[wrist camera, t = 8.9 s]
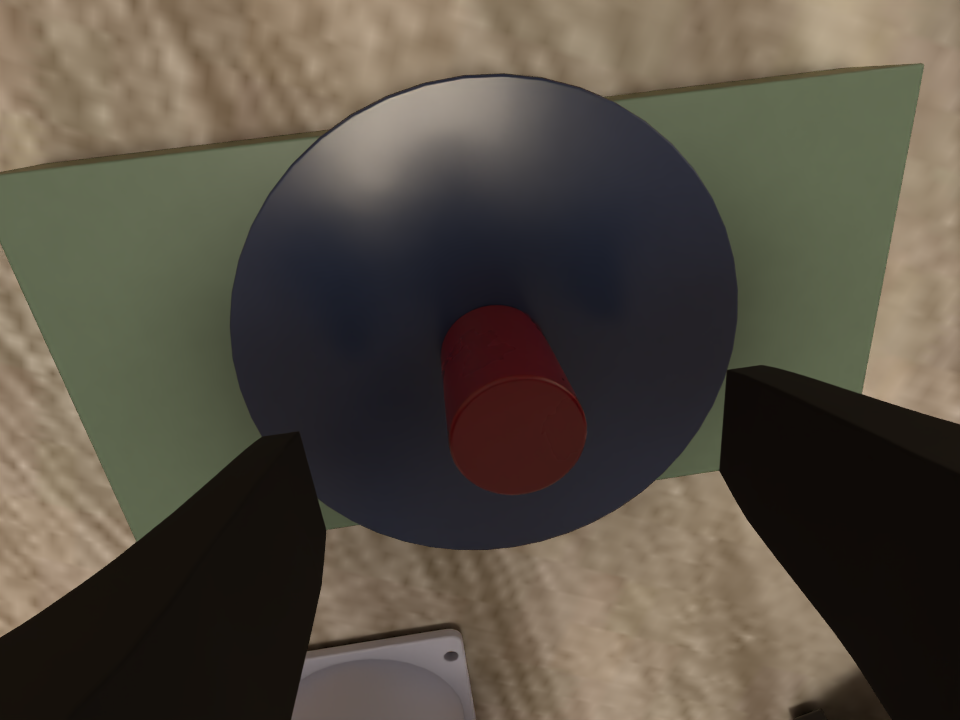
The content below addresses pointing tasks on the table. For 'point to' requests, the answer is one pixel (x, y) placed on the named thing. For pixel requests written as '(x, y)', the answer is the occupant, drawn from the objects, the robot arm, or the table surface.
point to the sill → (262, 161)
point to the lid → (485, 310)
